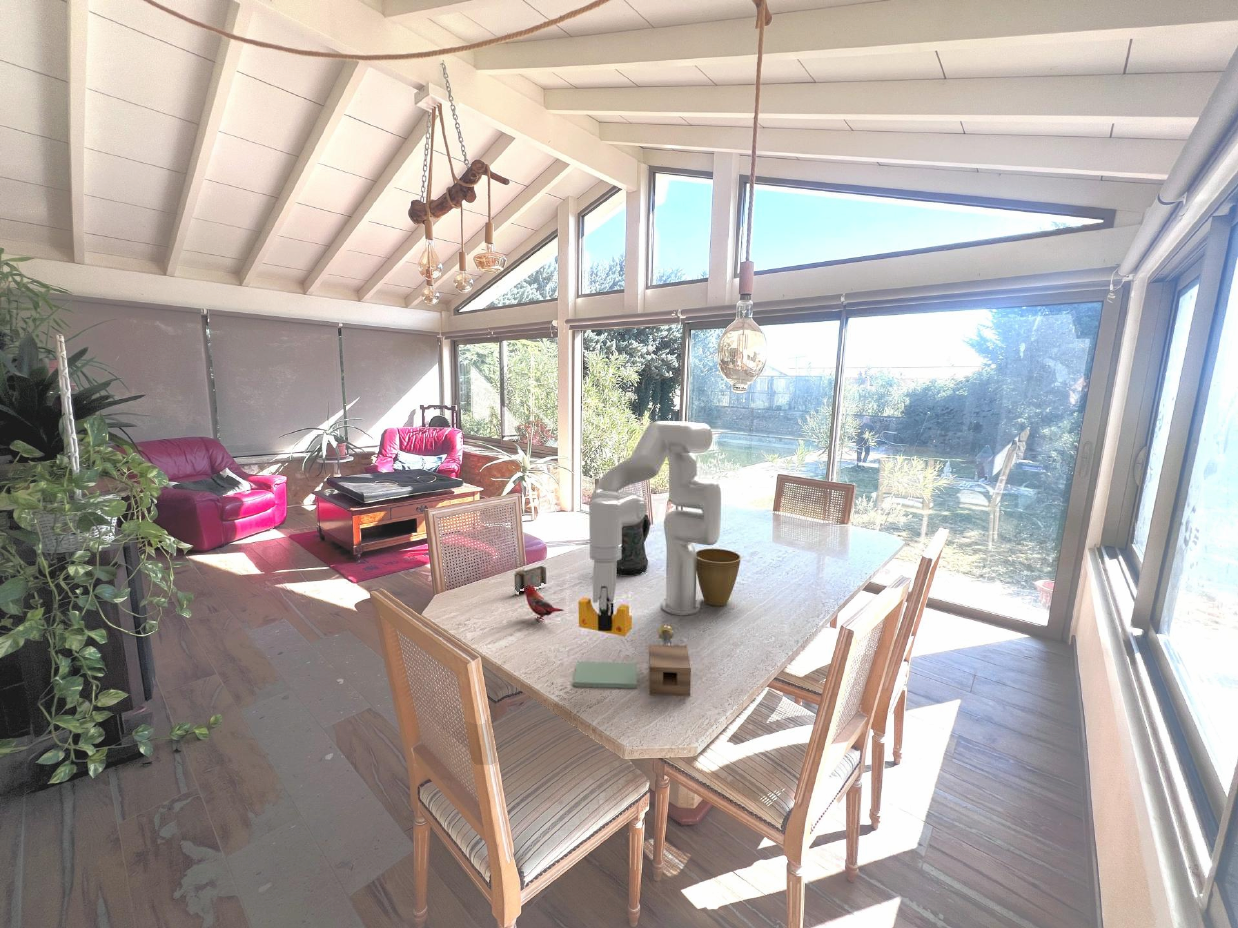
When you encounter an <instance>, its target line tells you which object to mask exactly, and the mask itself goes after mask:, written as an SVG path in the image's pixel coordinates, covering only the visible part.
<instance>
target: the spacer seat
mask: <svg viewBox="0 0 1238 928" xmlns="http://www.w3.org/2000/svg"><path fill="white" fill-rule="evenodd" d="M572 680H573V681H572V687H589V688H590V687H592V688H593V687H594V688H597V687H599V688H621V689H622V688H624V689H625V688H628V689H637V688H638V662H616V661H613V662H611V661H610V662H609V661H579V660H578V661H577V664H576V667H575V672H574V676H573V679H572Z"/></svg>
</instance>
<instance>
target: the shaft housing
mask: <svg viewBox="0 0 1238 928" xmlns="http://www.w3.org/2000/svg"><path fill="white" fill-rule="evenodd" d="M691 672H692V666H691V663H690V656H689V649H688V645H686V644H685V645H684V644H683V645H682V644H681V645H679V644H672V645H662V644H649V649H648V683H649V686H648V688H649V689H648V690H649V695H650V696H675V697H676V696H677V697H678V696H680V697H681V696H683V697H691V681H692V680H691V679H692V678H691V677H692V675H691V674H692V673H691Z"/></svg>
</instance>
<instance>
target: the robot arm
mask: <svg viewBox="0 0 1238 928" xmlns="http://www.w3.org/2000/svg"><path fill="white" fill-rule="evenodd" d="M712 443H713V432H712V429H711V427H710V425H708V424H707V423H704V422H690V421H682V420H681V421H680V420H679V421H675V420H674V421H672V420H671V421H670V420H657V421H652V422H651V423H649V424H648V425H647V427H646V428H645V430H644V431H643V433H642V435H641V437H640V439H639V441H638V443H637V444H636V446H635V448H634V450H633V452H632V454H631V455H630V457H629V458H627V459H625V460H623V461H622V462H620V463H618V464H617V465H615V466H613V467H612V468H611V469H609V470H608V471H607V472H606V473H604V475H602V477H601V478H600V479H599V481H598V482H597V484H596V486H595V488H594V490H593V492H592V493H591V495H590V499H589V502H588V503H589V504H588V510H589V511H588V516H589V521H588V523H589V528H588V529H589V559H590V560H592V561H593V567H592V570H593V571H592V603H594V604H596V603H598V630H599V631H598V632H601V631H611V630H612V615H614V599H615V596H616V595H615V594H616V589H617V588H616V587H617V576H618V575H617V560H620V559H621V558H622V527H623V526H628V525H634V524H637V523H639V522H640V521H641V520H642V519H643V518H644V517H645V514H646V515H647V509H648V508H647V505H648V504H647V502H646V500H645V499H644V498H643V497H642V496H641V495H638V494H636V493H630V492H629V493H628V492H622V491H620V490H622V489H624V488H626V487H628V486H631V485H634V484H638V483H642V482H645V481H648V480H651V479H654V478H655V477H656V476H657V475H658V474H659V473H660V472H661V468H662V467H663V464H664V462H665V461H666V459H667V462H668V497H669V498H668V499H669V502H670V504H672V505H674V506H676V507H680V508H686V509H687V508H688V509H692V510H693V509H694V510H700V511H701V512H697V511H691V510H690V511H689V510H683V509H681V510H680V509H676V510H674V509H673V510H671V511H669V512H668V513H667V514H666V515H665V517H664V520H663V530H664V536H665V537H664V538H665V544H666V545H665V546H666V562H665V563H666V567H665V569H666V572H665V573H666V575H665V576H666V577H665V580H666V581H665V585H666V586H665V598H664V599H662V600H661V602H660V607H661V609H662V610H664V612H666V613H669V614H670V615H671V614H672V615H675V616H677V615H678V616H688V615H695V614H696V613H699V611H700V610H701V607H702V606H701V603H700V602H699V601H698V599H697V571H696V569H697V554H696V551H697V550H696V548H695V546H694V544H697V545H702V546H703V545H704V546H713V545H715V544H716V543H717V542H718V541H719V539H720V535H721V526H722V525H721V524H722V523H721V518H722V517H721V516H722V515H721V512H722V492H721V487H720V484H719V483H718V482H717V481H716V480H714V479H712V478H704V477H699V476H698V474H697V473H698V469H697V467H698V466H697V464H698V462H697V459H696V457H695V455H694V454H703V453H704V454H705V453H706V452H707V451H708V450H709V449H710V448H711V446H712Z"/></svg>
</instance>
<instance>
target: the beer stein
mask: <svg viewBox="0 0 1238 928" xmlns="http://www.w3.org/2000/svg"><path fill="white" fill-rule="evenodd" d="M650 529H651V522H650V518H649V515H647V513H646V514H645V517H644V518H643V519H642V520H641V521H640V522H639V523H637V524H634V525H628V526H623V527H622V558H621V559H620V560H617V574H619V575H618V576H620V575H633V576H637V575H636V574H639V575H641V573H642V572H644V573H645V572H647V570H648V565H649V560H648V557H647V554H646V548H645V542H646V540H647V538H648V535H649V532H650ZM646 569H647V570H646ZM642 574H643V573H642Z"/></svg>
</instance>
